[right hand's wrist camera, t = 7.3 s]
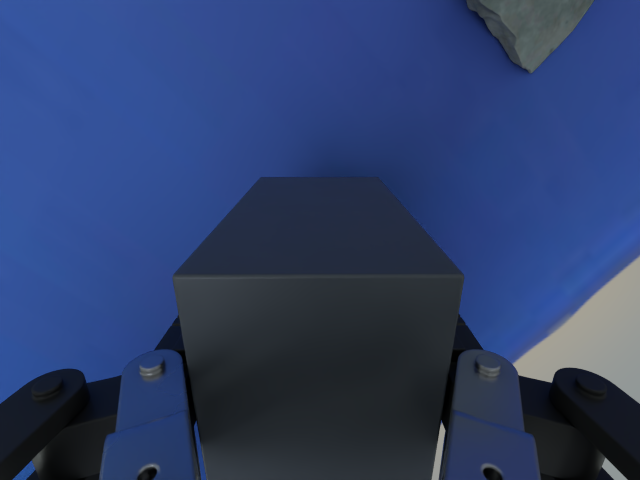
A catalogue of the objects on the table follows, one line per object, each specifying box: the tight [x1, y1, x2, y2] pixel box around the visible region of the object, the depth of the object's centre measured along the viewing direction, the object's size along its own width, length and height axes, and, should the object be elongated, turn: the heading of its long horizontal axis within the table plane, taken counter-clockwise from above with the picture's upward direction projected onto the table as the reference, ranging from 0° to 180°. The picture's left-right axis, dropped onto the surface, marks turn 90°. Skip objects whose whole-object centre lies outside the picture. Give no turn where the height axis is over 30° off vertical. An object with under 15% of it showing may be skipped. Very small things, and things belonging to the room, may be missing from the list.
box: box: [173, 177, 464, 480], centre depth 16 cm, size 22×6×11 cm, turn 0°
